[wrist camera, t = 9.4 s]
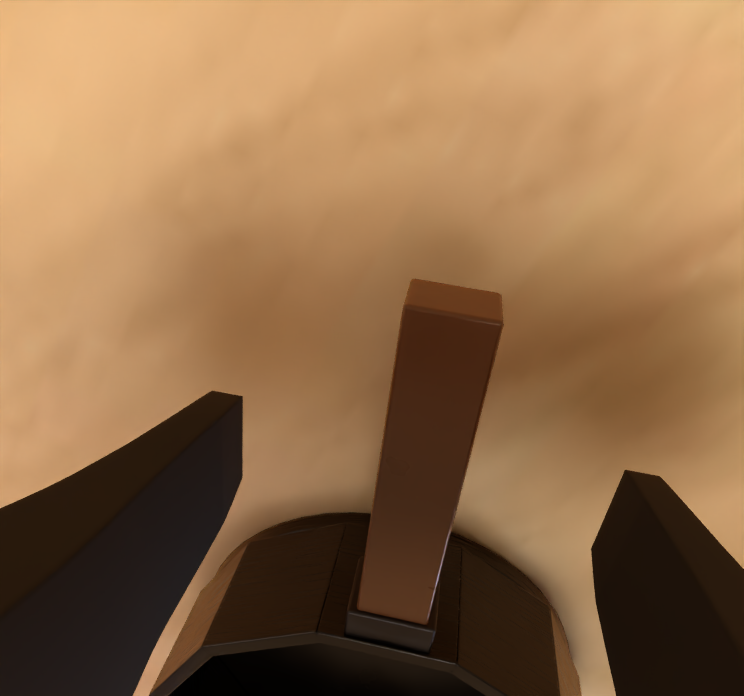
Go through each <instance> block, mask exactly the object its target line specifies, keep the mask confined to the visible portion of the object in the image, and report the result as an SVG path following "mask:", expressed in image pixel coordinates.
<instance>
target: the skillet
mask: <svg viewBox="0 0 744 696" xmlns="http://www.w3.org/2000/svg"><path fill="white" fill-rule="evenodd" d="M503 325H504V322H503V308H502V296H501V294H499V293H495V292H489V291H483V290H478V289H472V288H466V287H460V286H454V285H448V284H442V283H437V282H431V281H425V280H419V279H412V280H411V282H410V284H409V288H408V291H407V295H406V298H405V302H404V305H403V310H402V316H401V323H400V329H399V336H398V342H397V349H396V355H395V362H394V368H393V375H392V381H391V388H390V394H389V401H388V407H387V414H386V420H385V426H384V433H383V439H382V446H381V452H380V459H379V465H378V472H377V478H376V485H375V491H374V498H373V504H372V511H371V514H365V513H333V514H321V515H315V516H308V517H302V518H298V519H294V520H291V521H287V522H283V523H280V524H278V525H275V526H273V527H271V528H268V529H266V530H263V531H261V532H259V533H258V534H256V535H254V536H253V537H251V538H250V539H248V540H246V541H245V542H243V543H242V544H241V545H240V546H239V547H238V548H236V549H235V550H234V551H233V552H232V553H231V554H230V555H229V556H228V557H227V559H226V560H225V561H224V562H223V564H222V565H221V566H220V568H219V570H218V572H217V574H216V576H215V577H214V578H213V580H212V581H211V582H210V583H209V584H208V585H207V586H206V587H205V588H204V589H203V590H202V591H201V592H200V594H199V596H198V598H197V600H196V602H195V604H194V606H193V608H192V610H191V612H190V614H189V616H188V618H187V620H186V622H185V624H184V626H183V628H182V630H181V632H180V634H179V636H178V638H177V640H176V642H175V644H174V646H173V648H172V650H171V652H170V654H169V656H168V658H167V660H166V662H165V664H164V666H163V668H162V670H161V672H160V674H159V676H158V678H157V680H156V682H155V684H154V686H153V688H152V690H151V692H150V695H149V696H582V695H581V688H580V681H579V676H578V674H577V671H576V669H575V666H574V664H573V662H572V659H571V657H570V654H569V647H568V642H567V638H566V635H565V632H564V628H563V626H562V624H561V622H560V620H559V618H558V616H557V614H556V612H555V610H554V609H553V607H552V606H551V605H550V603H549V602H548V601H547V599H546V598H545V597H544V595H543V594H542V592H541V591H540V590H539V589H538V588H537V587H536V586H535V585H534V584H533V583H532V582H531V581H530V580H529V579H528V578H527V577H526V576H525V575H524V574H522V573H521V572H520V571H519V570H517V569H516V568H515V567H513V566H512V565H511V564H510V563H508V562H507V561H506V560H504V559H503V558H501V557H499V556H498V555H496V554H495V553H493V552H491V551H490V550H488V549H486V548H485V547H483V546H481V545H479V544H477V543H475V542H473V541H470V540H468V539H466V538H464V537H462V536H460V535H458V534H455V533H452V532H451V530H452V526H453V522H454V518H455V514H456V510H457V506H458V502H459V498H460V494H461V491H462V487H463V483H464V479H465V475H466V471H467V467H468V463H469V459H470V455H471V451H472V447H473V443H474V439H475V435H476V432H477V428H478V424H479V420H480V416H481V412H482V408H483V404H484V400H485V396H486V392H487V388H488V384H489V380H490V377H491V373H492V369H493V365H494V361H495V357H496V353H497V349H498V345H499V341H500V337H501V333H502V329H503Z"/></svg>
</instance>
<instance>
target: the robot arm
mask: <svg viewBox="0 0 744 696" xmlns="http://www.w3.org/2000/svg"><path fill="white" fill-rule="evenodd" d="M242 433H243V396H238V395H232V394H227V393H222V392H217V391H211V392H209V393H208V394H206V395H204V396H203V397H201V398H199V399H198V400H196V401H195V402H193V403H192V404H190V405H189V406H187V407H185V408H184V409H182V410H181V411H179V412H178V413H176V414H175V415H173V416H171V417H170V418H168V419H167V420H165V421H164V422H162V423H160V424H159V425H157V426H156V427H154V428H152V429H151V430H149V431H148V432H146V433H144V434H143V435H141V436H139V437H138V438H136V439H135V440H133V441H131V442H130V443H128V444H126V445H125V446H123V447H121V448H119V449H118V450H116V451H114V452H112V453H110V454H109V455H107V456H105V457H103V458H101V459H100V460H98V461H96V462H94V463H93V464H91V465H89V466H87V467H85V468H84V469H82V470H80V471H78V472H76V473H75V474H73V475H71V476H69V477H67V478H65V479H63V480H61V481H59V482H57V483H55V484H53V485H51V486H49V487H47V488H45V489H42V490H40V491H38V492H36V493H34V494H31V495H29V496H27V497H25V498H23V499H21V500H18V501H16V502H14V503H12V504H9V505H7V506H5V507H3V508H0V696H133V693H134V691H135V689H136V687H137V685H138V682H139V680H140V678H141V676H142V673H143V671H144V669H145V667H146V665H147V662H148V660H149V658H150V656H151V653H152V651H153V649H154V647H155V645H156V643H157V641H158V639H159V638H160V636H161V634H162V632H163V630H164V628H165V626H166V624H167V622H168V621H169V619H170V617H171V615H172V614H173V612H174V610H175V608H176V607H177V605H178V603H179V601H180V600H181V598H182V596H183V594H184V593H185V591H186V589H187V587H188V586H189V584H190V582H191V580H192V579H193V577H194V575H195V573H196V572H197V570H198V568H199V566H200V565H201V563H202V561H203V559H204V557H205V556H206V554H207V552H208V550H209V549H210V547H211V545H212V543H213V541H214V540H215V538H216V536H217V534H218V532H219V531H220V529H221V527H222V525H223V523H224V521H225V519H226V516H227V514H228V512H229V509H230V507H231V505H232V502H233V500H234V497H235V495H236V492H237V490H238V487H239V485H240V482H241V480H242ZM591 551H592V565H593V579H594V588H595V598H596V605H597V610H598V615H599V620H600V624H601V629H602V633H603V638H604V643H605V647H606V652H607V656H608V661H609V665H610V669H611V674H612V678H613V683H614V687H615V692H616V696H744V569H743V568H742V567H741V566H740V565H739V564H738V563H737V562H736V560H735V559H734V558H733V557H732V556H731V555H730V554H729V553H728V552H727V551H726V549H725V548H724V547H723V546H722V545H721V544H720V543H719V542H718V541H717V539H716V538H715V537H714V536H713V535H712V534H711V533H710V532H709V530H708V529H707V528H706V527H705V526H704V525H703V524H702V522H701V521H700V520H699V519H698V518H697V517H696V516H695V515H694V513H693V512H692V511H691V510H690V509H689V508H688V507H687V505H686V504H685V503H684V502H683V501H682V500H681V499H680V498H679V496H678V495H677V494H676V493H675V492H674V491H673V490H672V489H671V488H670V487H669V485H668V484H667V483H666V482H665V481H664V480H663V479H662V478H661V477H660V476H655V475H650V474H645V473H639V472H634V471H629V470H625V471H624V474H623V476H622V478H621V481H620V483H619V485H618V488H617V490H616V492H615V495H614V497H613V499H612V502H611V504H610V506H609V508H608V511H607V513H606V515H605V518H604V520H603V522H602V525H601V527H600V529H599V532H598V534H597V536H596V539H595V541H594V543H593V546H592V548H591Z"/></svg>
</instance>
